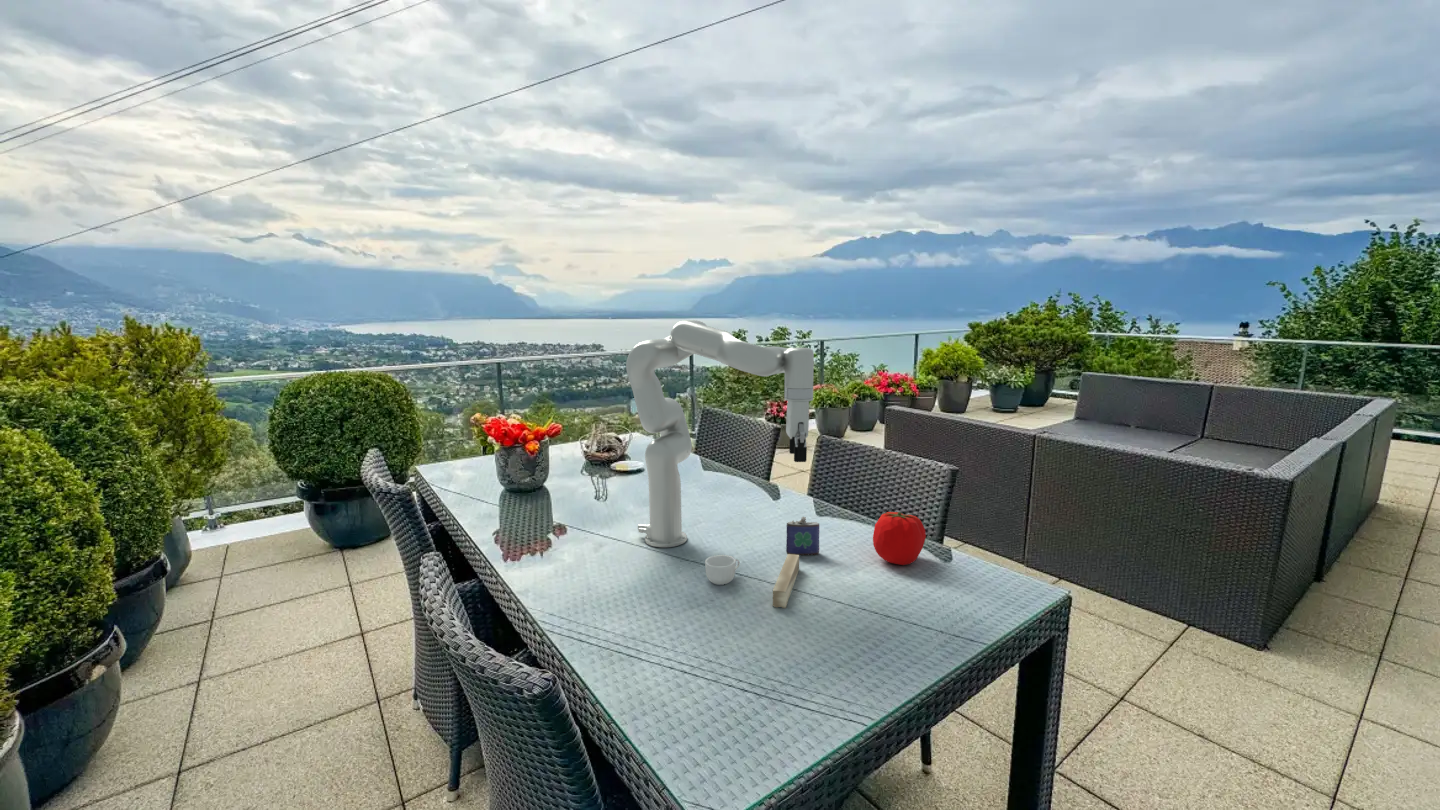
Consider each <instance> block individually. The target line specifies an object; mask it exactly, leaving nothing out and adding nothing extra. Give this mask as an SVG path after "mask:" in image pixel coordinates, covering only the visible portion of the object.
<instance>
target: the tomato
mask: <svg viewBox="0 0 1440 810" xmlns="http://www.w3.org/2000/svg"><path fill="white" fill-rule="evenodd" d="M926 537H927V536H926V529H925V526H924V524H923V522H922V520H921V519H920V518H919V517H917V516H916V515H912V514H903V513H901V511H899V512H898V511H897V512H896V511H887V512H883V513H882V514H881V515H880V517H879V518H878V520H877V521H876V523H875V524H874V529H873V534H872V544H873V548H874V551H875V552H876V554H877V555H878V556H879V557H880V558H881V559H883V560H884V561H885V562H888V563H889V564H895V565H899V566H906V565H911V564H912V563H914V562H915V561H916V560H917V559H918V557H919V555H920V553H921V552H922V549H923V548H924V544H925V541H926Z"/></svg>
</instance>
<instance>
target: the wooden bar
mask: <svg viewBox="0 0 1440 810" xmlns="http://www.w3.org/2000/svg"><path fill="white" fill-rule="evenodd" d="M799 571H800V556H799V555H795V554H787V555H786V557H785V559H784V562H783V565H782V566H781V569H780V572H779V573H778V576H777V578H776V582H775V583H774V586H773V588H772V607H773V606H774V607H773V608H778V607H782V608H781V609H787V606H788V603H789V599H790V597H791V594H792V592H791V591H793V588H794V585H795V582H796V579H797V576H798V574H799Z"/></svg>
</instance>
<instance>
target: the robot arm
mask: <svg viewBox="0 0 1440 810" xmlns="http://www.w3.org/2000/svg"><path fill="white" fill-rule="evenodd" d="M693 355H697V356H700V357H704V358H707V359H710V360H714V361H717V362H719V363H721V364H723V365H726V366H729V367H730V368H733V369H735V370H738V371H742V372H744V373H749V374H751V375H755V376H759V377H769V376H772V375H773V376H774V375H777V374H784V401H787V404H786V405H787V406H786V421H785V422H786V425H785V432H786V435H787V436H788V437H789V447H788V448H789V451H788V452H789V454H791V455H792V454H793V461H794V463H806V462H807V456H808V455H807V449H808V448H807V438H808V436H809V428H810V427H809V424H810V423H809V421H810V416H809V415H810V410H809V409H810V407H809V406H810V405H809V404H810V402H811V401H812V402H813V400H814V366H815V365H814V361H815V360H814V359H815V355H814V350H813V349H812V348H810V347H783V346H774V345H772V346H765V347H764V346H760V345H756V344H753V343H749V342H746V341H743V340H741V339H738V338H736V337H734V336H733V334H732V333H730V332H729V331H728V330H723V329H720V328H716V327H711V326H708V325H707V324H706V323H704V322H703V321H700V320H694V319H693V320H690V319H688V320H687V319H686V320H685V319H684V320H680V321H678V322H677V323H675V324H674V325H673V327H672V329H671V330H670V335H669V336H667V337H664V338H658V339H657V338H654V339H646V340H643V341H640V342H638V343H637V344H636V345H634V347H633V348H632V349H631V350H630V351H629V354H628V356H627V358H626V361H625V365H626V366H625V368H626V375H627V378H628V381H629V383H630V387H631V390H632V395H633V397H634V402H635V406H636V410H637V414H638V417H639V421H640V424H641V427H642V428H643V430H645V432H647V433H650V434H658V433H659V435H660V436H659V437H657V438H655V439H653V440H651V441H650V442H649V444H648V445H647V447H646V448H645V454H644V459H645V464H646V465H645V466H646V471H647V476H648V477H647V479H648V503H649V504H648V506H649V508H648V509H649V524H645V523H639V524H637V531H638V533H640V534H641V533H645V534H646V535H645V536H644V542H645V544H647V545H648V546H651V547H654V548H655V547H656V548H664V549H665V548H673V547H677V546H681V545H683V544H684V543H686V542H687V540H688V535H687V533H685V532H684V531H683V529H682V528H683V526H682V525H683V524H682V521H683V520H682V483H681V482H682V481H681V474H680V472H679V467H678V464H681V463H682V462H684V461H685V460H686V459H688V458H689V456H690V455H691V453H692V450H693V443H692V440H691V435H690V432H689V427H688V424H687V423H688V422H687V420H686V416H685V413H684V410H683V408H682V406H681V404H680V403H679V401H677V400H675V399H674V398H671V397H665V395H664V392H663V387H662V384H661V382H660V380H659V378H658V377H657V375H656V372H655V371H656V369H663V368H668V367H673V366H674V365H676V364H679V363H680V362H682V361H684V360H686V359H687V358H689V357H690V356H693Z"/></svg>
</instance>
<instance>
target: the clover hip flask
mask: <svg viewBox="0 0 1440 810" xmlns="http://www.w3.org/2000/svg"><path fill="white" fill-rule="evenodd" d="M806 517H807V516H802V517H801V519H800V520H799V521H798V520H792V521H787V522H786V544H785V545H786V546H785V547H786V548H785V549H786V550H785V551H786V554H787V555H788V554H795V555H801V556H816V555H818V556H819V554H820V523H819V522H817V521H811V522H810V521H808V522H807V518H806Z"/></svg>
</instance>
